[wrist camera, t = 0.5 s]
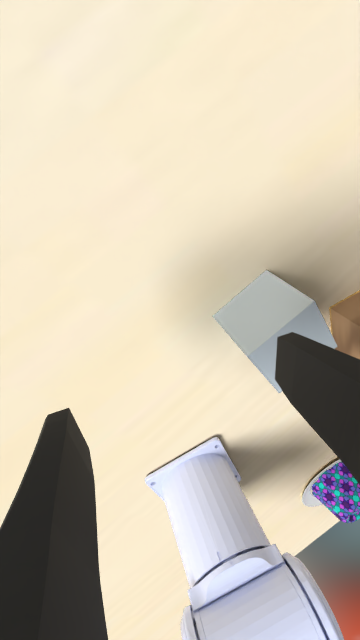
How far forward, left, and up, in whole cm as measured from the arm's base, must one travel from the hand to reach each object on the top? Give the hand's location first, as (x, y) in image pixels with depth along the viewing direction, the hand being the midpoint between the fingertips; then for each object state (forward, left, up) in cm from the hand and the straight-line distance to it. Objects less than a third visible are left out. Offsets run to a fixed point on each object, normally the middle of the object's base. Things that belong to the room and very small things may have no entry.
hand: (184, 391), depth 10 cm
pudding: (-43, -12, -11) cm, 46 cm away
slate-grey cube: (-7, -7, -10) cm, 14 cm away
